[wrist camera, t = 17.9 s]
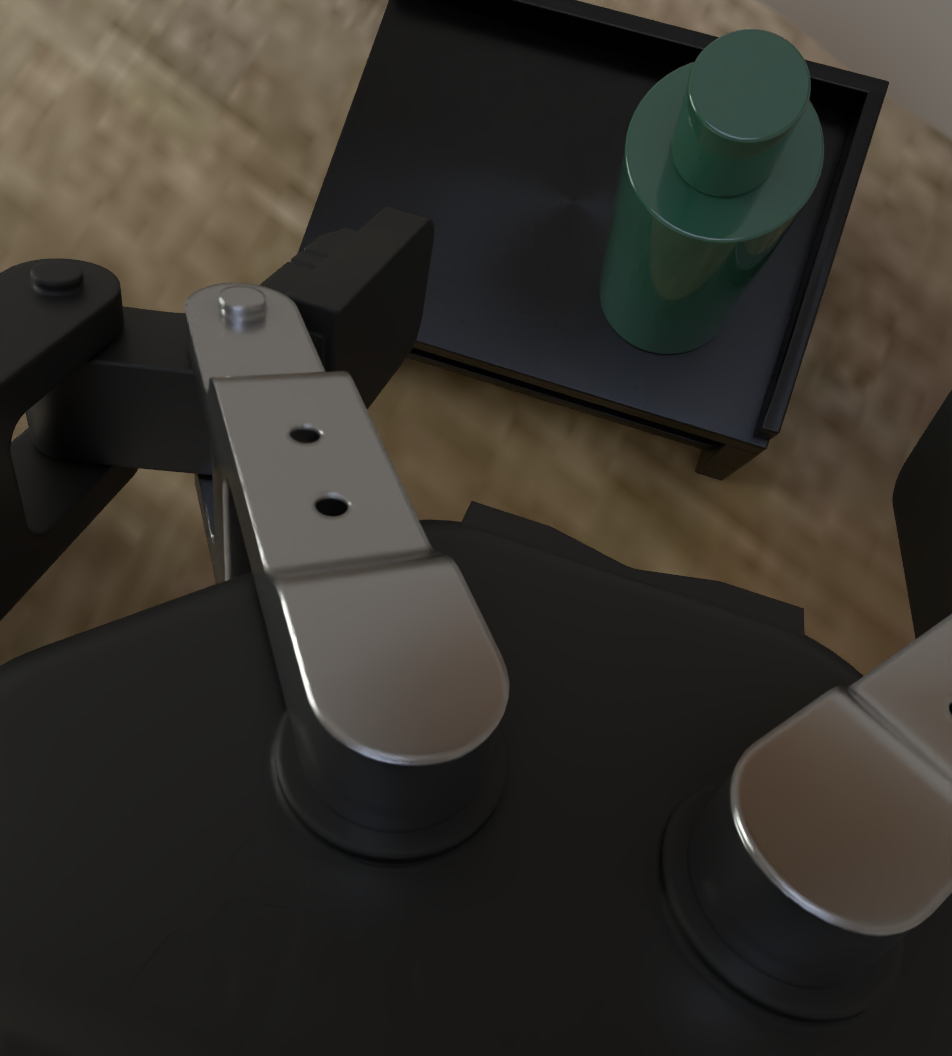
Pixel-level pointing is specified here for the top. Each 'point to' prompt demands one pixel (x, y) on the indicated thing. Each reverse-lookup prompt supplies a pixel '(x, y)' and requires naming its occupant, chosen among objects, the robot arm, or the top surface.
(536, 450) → the top surface
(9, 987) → the robot arm
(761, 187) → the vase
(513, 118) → the black rectangular case
